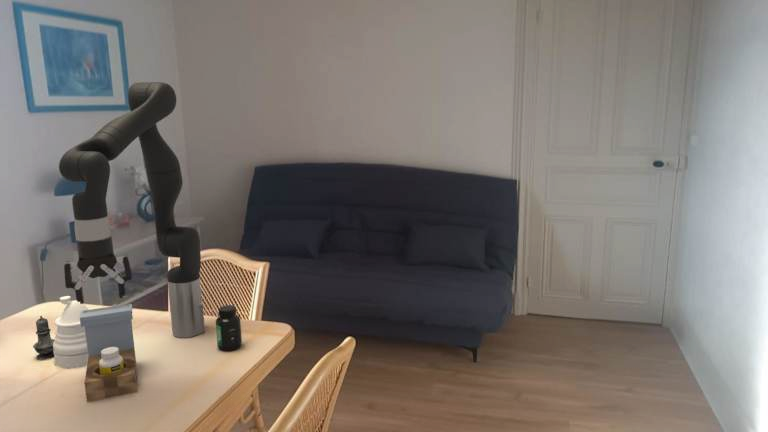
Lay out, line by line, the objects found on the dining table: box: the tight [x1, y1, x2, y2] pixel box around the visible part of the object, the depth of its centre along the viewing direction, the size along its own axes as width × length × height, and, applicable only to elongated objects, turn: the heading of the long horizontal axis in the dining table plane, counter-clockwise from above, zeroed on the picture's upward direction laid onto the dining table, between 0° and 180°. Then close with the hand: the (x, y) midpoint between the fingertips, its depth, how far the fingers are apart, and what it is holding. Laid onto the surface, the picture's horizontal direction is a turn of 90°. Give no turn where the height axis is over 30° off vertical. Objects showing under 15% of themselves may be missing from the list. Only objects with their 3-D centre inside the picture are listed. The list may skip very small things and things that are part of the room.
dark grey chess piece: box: [32, 315, 55, 361], centre depth 157 cm, size 6×6×12 cm
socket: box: [84, 349, 138, 403], centre depth 143 cm, size 11×15×5 cm
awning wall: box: [80, 303, 137, 360], centre depth 148 cm, size 12×5×17 cm, turn 114°
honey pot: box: [53, 295, 90, 369], centre depth 156 cm, size 13×13×18 cm
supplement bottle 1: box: [99, 347, 124, 375], centre depth 141 cm, size 5×5×10 cm
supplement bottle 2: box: [215, 304, 243, 353], centre depth 162 cm, size 7×7×12 cm
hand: (102, 300), depth 137 cm, fingers open, 8 cm apart
